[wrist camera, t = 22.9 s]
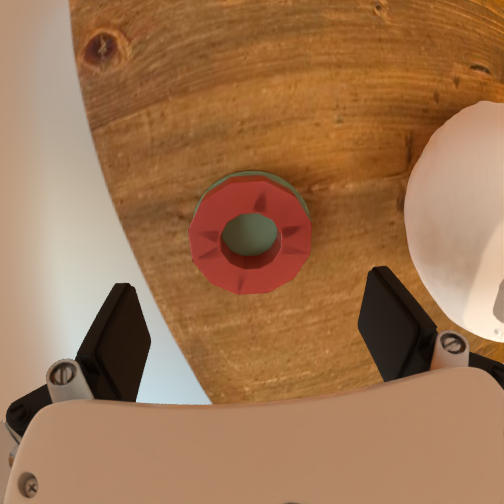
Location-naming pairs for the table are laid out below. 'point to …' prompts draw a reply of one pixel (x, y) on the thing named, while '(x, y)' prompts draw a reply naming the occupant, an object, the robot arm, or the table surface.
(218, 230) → the red ring
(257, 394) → the table surface
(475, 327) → the skull planter
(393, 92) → the table surface
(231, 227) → the coaster
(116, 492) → the robot arm
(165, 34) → the table surface
